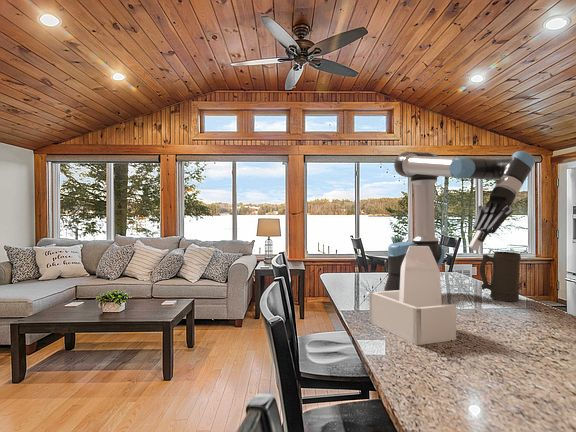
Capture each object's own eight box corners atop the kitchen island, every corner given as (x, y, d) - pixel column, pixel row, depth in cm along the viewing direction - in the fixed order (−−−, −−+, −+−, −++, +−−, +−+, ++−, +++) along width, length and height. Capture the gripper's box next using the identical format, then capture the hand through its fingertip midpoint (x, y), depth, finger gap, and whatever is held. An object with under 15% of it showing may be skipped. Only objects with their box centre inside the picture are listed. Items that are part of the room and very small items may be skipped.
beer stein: (513, 297, 171) (513, 250, 171) (525, 302, 160) (525, 253, 160) (476, 296, 172) (476, 250, 172) (486, 302, 162) (486, 253, 161)
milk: (435, 323, 131) (435, 244, 131) (443, 333, 120) (442, 247, 119) (398, 321, 133) (397, 244, 133) (402, 332, 121) (401, 247, 121)
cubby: (369, 322, 133) (369, 292, 133) (403, 318, 137) (403, 289, 137) (416, 345, 109) (416, 309, 109) (456, 339, 113) (456, 305, 113)
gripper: (483, 185, 143) (451, 240, 140) (514, 185, 130) (480, 245, 127) (496, 197, 145) (465, 251, 142) (528, 198, 133) (495, 257, 130)
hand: (472, 248), depth 135 cm, fingers closed
